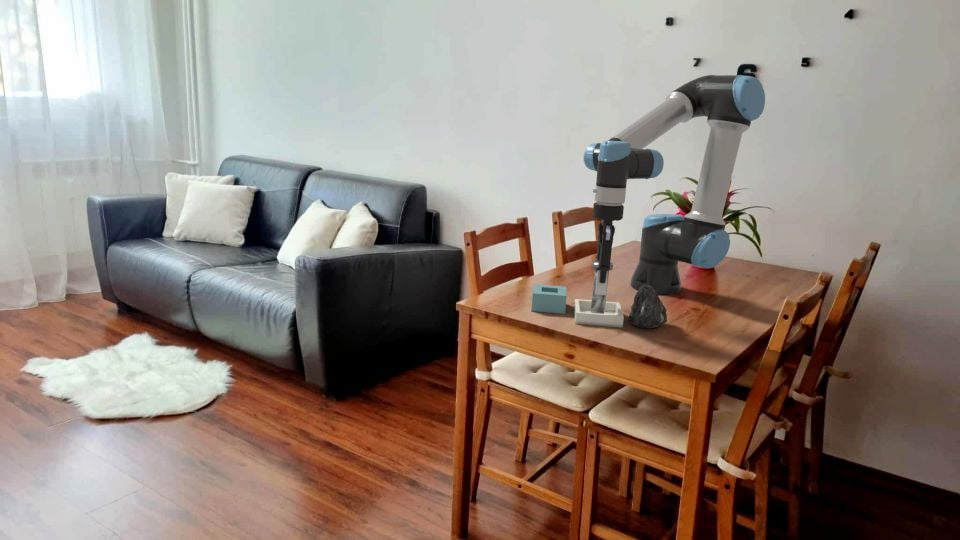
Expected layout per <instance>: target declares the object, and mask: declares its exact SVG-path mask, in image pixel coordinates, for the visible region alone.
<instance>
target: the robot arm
mask: <svg viewBox="0 0 960 540" xmlns="http://www.w3.org/2000/svg"><path fill="white" fill-rule="evenodd" d="M765 106H766V93H765V89H764V87H763V84H762V83H761V80H759V79H758V78H756V77H754V76H752V75H743V74H738V75H736V74H735V75H733V74H731V75H725V74H724V75H721V74H720V75H718V74H715V75H714V74H709V75H702V76H699V77H697V78H694V79H691V80H690V81H688V82H686V83H683V84H682V85H680V86H679V87H677V88H676V89H675V90H673V91H671V92H670V93H669V94H667V96H666V98H665V100H664V101H663V102H662V103H660V104H659V105H658V106H656V107H654V108H653V109H651V110H650V111H649V112H647V113H646V114H645V115H643V116H641V117H640V118H639V119H637V120H635V121H634V122H633V123H631V124H629V126H627V127H626V128H624V129H623V130H621V131H619V132H617V134H615V135H613V137H611V138H610V139H608V140H604V141H602V142H597V143H590V144H589V145H588V146H587V147H586V148H585V149H584V153H583V163H584V165H585V167H586V168H587V169H589V170H591V171H595V172H596V182H595V188H593V189H592V193H594V201H595V202H594V203H593V211H592V216H593V218H594V219H596V220H601V222H599V223H598V227H597V231H598V234H597V239H598V240H597V250H596V256H595V259H596V260H595V261H597V260H599V267H598V268H596V270H598V272H597V282H596V292H595V294H596V295H606V291H607V292H608V285H607V282H609V276H608V273H610V271H611V270H610V262H611V258H612V248H613V243H614V236H615V234H616V233H615V232H616V227H615V225H613V224H614V221H621V220H623V218H624V211H625V210H624V208H625V206H624V203H626V202H625V200H626V194H627V181H628V180H642V179H643V180H644V179H645V180H649V179H655V178H656V177H658V176H659V175H660V174H661V173H662V171H663V169H664V163H665V161H664V157H663V155H662V153H661V152H660V151H658V150H656V149H650V148H646V147H647V146H648V145H651V144H652V143H653V142H655V141H656V140H657V139H659V138H660V137H662V136H663V135H664V134H666V133H667V132H669V131H671V130H672V129H673V128H675V127H676V126H677V125H679V124H680V123H687V122H689V121H690V120H692V119H693V118H699V117H707V120H706V123H707V124H708V126H709V127H710V130H709V134H708V138H707V144H706V147H705V151H704V156H703V161H702V164H701V169H700V172H699V176H698V181H697V185H696V190H695V192H694V198H693V202H692V207H691V210H690V212H688V213H687V214H685V215H682V214H674V213H673V214H671V213H670V214H669V213H668V214H665V213H661V214H660V213H659V214H649V215H647V216H645V218H644V219H643V223H642V224H643V226H642V228H641V230H642V231H641V239H640V247H639V250H640V251H639V258H638V263H637V265H636V267H635V269H634V272H633V274H632V276H631V278H630V286H631V287H632V288H633V289H635V290H637V291H638V290H639V288H640V287H641V286H642V285H647V286H652V287H653V289H654V290H655V291H656V293H657V295H673V294H679V293H680V292H681V288H682V287H681V286H682V281H681V276H680V270H679V265H678V264H679V262H681V263H685V264H688V265H692V266H693V267H696V268H697V267H698V268H703V269H712V268H715V267H716V266H718V265H719V264H720V263H722V262H723V261H724V259H725V258H726V256H727V255H728V252H729V250H730V245H731V239H730V238H731V237H730V235H729V233H728V232H727V231H726V224H727V223H726V222H725V220H724V219H723V213H724V209H725V206H726V201H727V197H728V193H729V190H730V184H731V180H732V177H733V174H734V169H735V164H736V161H737V156H738V152H739V148H740V144H741V142H742V141H741V140H742V136H743V133H744V132H747V131H748V130H749V129H751V123H752V121H755V120H757V119H759V118H760V116H761V115H762V113H763V112H764V109H765ZM609 270H610V271H609ZM606 296H607V295H606Z"/></svg>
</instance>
